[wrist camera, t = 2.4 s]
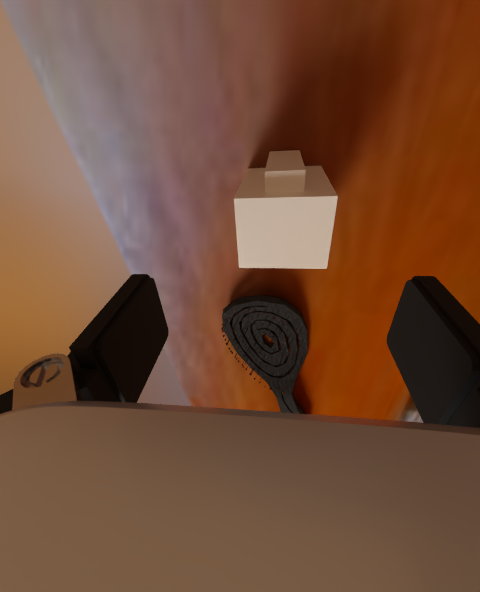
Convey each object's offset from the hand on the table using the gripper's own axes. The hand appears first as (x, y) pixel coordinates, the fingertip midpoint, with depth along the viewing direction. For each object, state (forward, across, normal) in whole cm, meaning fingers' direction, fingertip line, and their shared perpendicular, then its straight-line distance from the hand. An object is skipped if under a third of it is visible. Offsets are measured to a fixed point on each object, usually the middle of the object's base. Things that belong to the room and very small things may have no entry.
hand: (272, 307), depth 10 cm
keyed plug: (+12, -1, -1) cm, 12 cm away
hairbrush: (+14, -1, +19) cm, 23 cm away
